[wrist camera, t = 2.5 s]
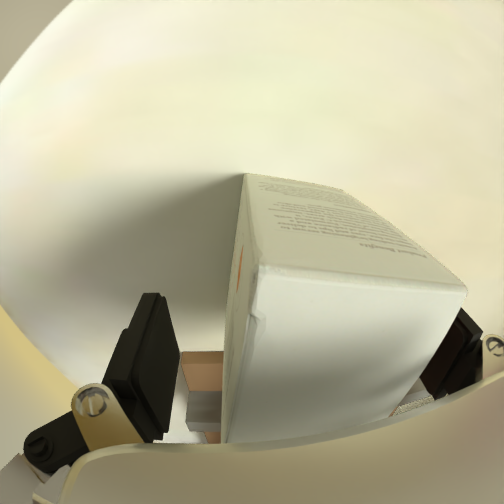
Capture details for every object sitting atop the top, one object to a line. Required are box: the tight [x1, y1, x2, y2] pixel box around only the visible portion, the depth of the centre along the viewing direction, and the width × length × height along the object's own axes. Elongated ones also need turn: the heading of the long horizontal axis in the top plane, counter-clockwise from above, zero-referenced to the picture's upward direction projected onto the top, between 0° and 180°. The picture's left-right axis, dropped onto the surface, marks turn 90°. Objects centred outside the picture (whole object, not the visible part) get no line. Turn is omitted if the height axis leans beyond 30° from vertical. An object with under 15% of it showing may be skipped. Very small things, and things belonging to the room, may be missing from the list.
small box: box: [221, 173, 468, 444], centre depth 11 cm, size 8×6×10 cm
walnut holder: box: [181, 351, 431, 444], centre depth 22 cm, size 20×20×4 cm
